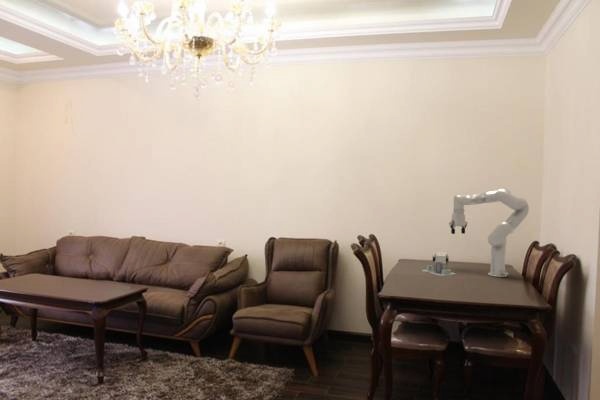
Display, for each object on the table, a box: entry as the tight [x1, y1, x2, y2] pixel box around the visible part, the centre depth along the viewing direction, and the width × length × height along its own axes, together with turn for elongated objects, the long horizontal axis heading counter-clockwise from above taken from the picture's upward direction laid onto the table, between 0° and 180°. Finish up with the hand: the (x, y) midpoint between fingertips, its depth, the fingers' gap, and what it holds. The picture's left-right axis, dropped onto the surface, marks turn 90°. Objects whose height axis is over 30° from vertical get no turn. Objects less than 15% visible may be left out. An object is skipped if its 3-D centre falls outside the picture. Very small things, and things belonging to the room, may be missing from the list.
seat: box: [421, 264, 456, 277], centre depth 342 cm, size 20×14×6 cm
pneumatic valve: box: [432, 253, 449, 265], centre depth 360 cm, size 6×12×12 cm, turn 76°
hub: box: [433, 261, 445, 272], centre depth 342 cm, size 7×7×6 cm
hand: (458, 233), depth 353 cm, fingers open, 9 cm apart
